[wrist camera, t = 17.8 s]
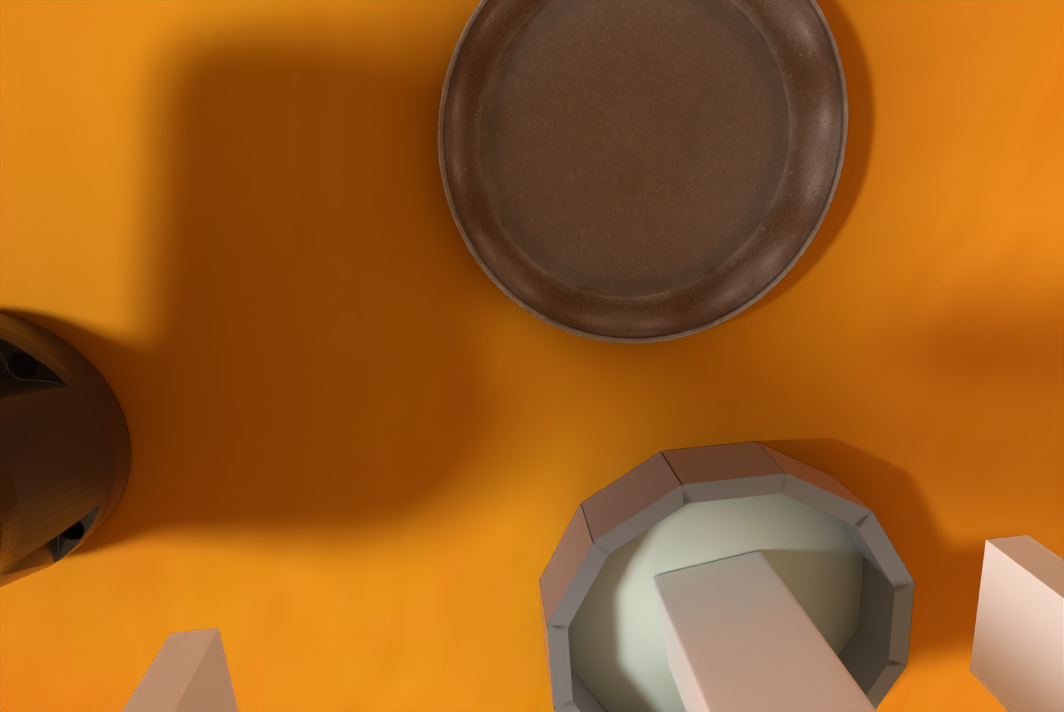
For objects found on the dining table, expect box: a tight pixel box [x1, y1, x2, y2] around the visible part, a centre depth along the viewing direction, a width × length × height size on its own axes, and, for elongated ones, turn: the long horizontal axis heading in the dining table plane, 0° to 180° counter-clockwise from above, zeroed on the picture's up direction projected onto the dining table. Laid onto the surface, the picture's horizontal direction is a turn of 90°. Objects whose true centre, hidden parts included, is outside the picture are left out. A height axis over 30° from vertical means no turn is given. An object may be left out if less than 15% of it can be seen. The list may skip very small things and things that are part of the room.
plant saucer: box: [438, 0, 848, 344], centre depth 36 cm, size 21×21×3 cm
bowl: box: [540, 441, 915, 712], centre depth 44 cm, size 22×22×4 cm
